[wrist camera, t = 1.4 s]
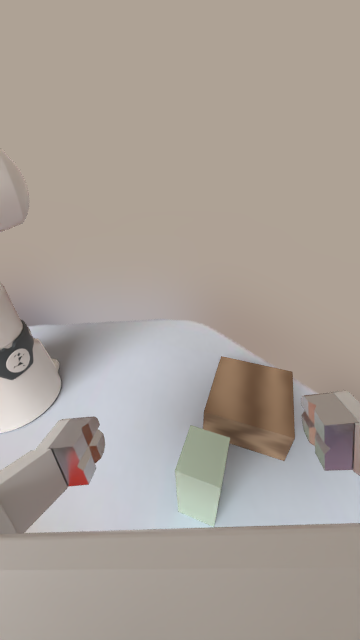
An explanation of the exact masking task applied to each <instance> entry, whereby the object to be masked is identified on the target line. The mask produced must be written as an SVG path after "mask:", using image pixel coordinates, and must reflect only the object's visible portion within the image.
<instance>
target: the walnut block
mask: <svg viewBox="0 0 360 640" xmlns="http://www.w3.org/2000/svg"><path fill="white" fill-rule="evenodd" d="M203 429H204V430H207V431H210V432H213V433H217V434H220V435H223V436H226V437H229V438H230V442H229V443H230V444H233V445H236V446H239V447H243V448H246V449H249V450H252V451H255V452H258V453H261V454H264V455H267V456H270V457H273V458H277V459H280V460H283V461H284V460H285V458H286V456H287V454H288V452H289V450H290V447H291V445H292V443H293V441H294V439H295V432H294V404H293V375H292V372H291V371H286V370H281V369H277V368H272V367H268V366H263V365H259V364H254V363H250V362H245V361H240V360H236V359H231V358H227V357H222V356H221V359H220V362H219V365H218V368H217V371H216V375H215V378H214V381H213V384H212V387H211V391H210V394H209V397H208V400H207V404H206V407H205V410H204V421H203Z"/></svg>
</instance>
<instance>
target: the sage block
mask: <svg viewBox="0 0 360 640" xmlns="http://www.w3.org/2000/svg"><path fill="white" fill-rule="evenodd" d="M229 442H230V438H229V437H226V436H223V435H220V434H217V433H213V432H210V431H207V430H204V429H201V428H198V427H194V426H190V428H189V431H188V434H187V437H186V440H185V443H184V446H183V449H182V452H181V455H180V458H179V460H178V463H177V466H176V469H175V477H176V489H177V501H178V512H181V513H183V514H185V515H187V516H190V517H192V518H194V519H197V520H199V521H201V522H204V523H206V524H208V525H210V526H213V527H214V525H215V519H216V514H217V509H218V503H219V498H220V493H221V488H222V482H223V477H224V471H225V465H226V459H227V454H228V448H229Z"/></svg>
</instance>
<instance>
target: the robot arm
mask: <svg viewBox="0 0 360 640" xmlns="http://www.w3.org/2000/svg"><path fill="white" fill-rule="evenodd" d="M28 210H29V193H28V188H27V185H26V182H25V180H24V178H23V176H22V174H21V172H20V170H19V169H18V167H17V166H16V164H15V163H14V162H13V161H12V160H11V158H10V157H9V156H8V155H7V154H6V153H5V152H4V151H3V150H2V149H0V232H2V231H5V230H8V229H10V228H13V227H15V226H17V225H20V224H22V223H23V222H24V220H25V219H26V216H27V214H28ZM58 370H59V362H58V360H56V359H51V358H50V356H49V355H48V353H47V351H46V350H45V348H44V346H43V345H42V343H41V341H40V340H39V339H35V338H33V337H32V334H31V331H30V329H29V328H28V327H27V325H26V324H25V322H24V321H23V320H21V319H20V318H19V316H18V314H17V312H16V310H15V308H14V306H13V304H12V302H11V300H10V298H9V296H8V294H7V292H6V290H5V288H4V286H3V285H2V284H1V283H0V433H3V432H8V431H11V430H14V429H17V428H19V427H22V426H24V425H26V424H28V423H29V422H31V421H33V420H34V419H36V418H37V417H39V416H40V415H41V414H42V413H44V412H45V411H46V410H47V409H48V408H49V407H50V406H51V405H52V403H53V402H54V401H55V399H56V398H57V396H58V394H59V392H60V388H61V379H60V376H59V374H58ZM301 406H302V407H303V409H304V411H305V412H304V413H303V414H302V424H303V428H304V432H305V434H306V437H307V439H308V441H309V442H310V443H311V444H313V445H314V446H315V454H316V455H317V457H318V459H319V461H320V463H321V464H322V466H323V468H324V470H325V471H328V470H353V471H354V472H355V473H357V474H358V475H359V476H360V402H359V401H358V400H357V399H356V398H355V397H354V396H353V395H352V394H351V393H350V392H348V391H346V390H344V391H337V392H331V393H323V394H314V395H304V396H302V398H301ZM99 425H100V424H99V421H98V419H97V418H96V417H82V418H72V419H62V420H60V421H58V422H57V423H56V425H55V426H54V427H53V428H52V430H51V431H50V432H49V433H48V434H47V436H46V437H45V438H44V439H43V441H42V442H41V443H40V444H39V446H38V447H37V448H36V449H35V450H32V451H30V452H28V453H27V454H25V455H24V456H22V457H21V458H19V459H18V460H16V461H15V462H13V463H12V464H10V465H8V466H7V467H5V468H4V469H2V470H1V471H0V640H360V523H345V524H312V525H279V526H246V527H214V528H180V529H147V530H114V531H81V532H48V533H24V532H25V531H26V530H27V529H28V528H29V527H30V526H31V525H32V524H33V523H34V522H35V521H36V520H37V519H38V518H39V517H40V516H41V515H42V514H43V513H44V512H45V511H46V510H47V509H48V508H49V507H50V506H51V505H52V504H53V503H54V502H55V500H56V499H57V498H58V497H59V496H60V495H61V494H62V493H63V492H64V491H65V490H66V489H67V488H68V486H79V485H89V483H90V481H91V479H92V477H93V474H94V472H95V470H96V465H95V463H96V462H97V461H98V460H100V459H101V457H102V455H103V453H104V448H105V438H104V435H103V433H102V432H101V431H100V430H98V428H99Z"/></svg>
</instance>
